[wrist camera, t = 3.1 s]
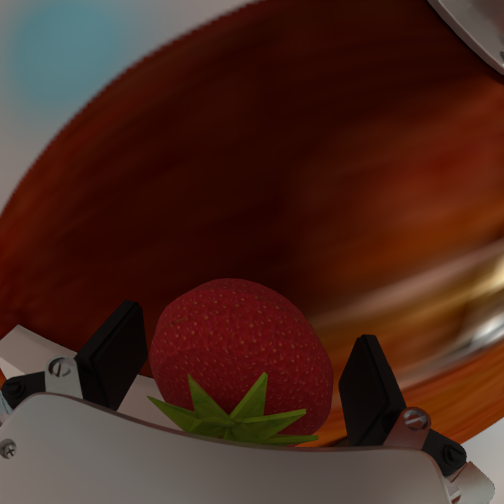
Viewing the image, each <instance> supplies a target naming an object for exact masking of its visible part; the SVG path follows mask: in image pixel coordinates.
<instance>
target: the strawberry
mask: <svg viewBox="0 0 504 504" xmlns="http://www.w3.org/2000/svg"><path fill="white" fill-rule="evenodd" d="M149 360H150V368H151V371H152V374H153V377H154V380H155V382H156V385H157V387H158V389H159V391H160V393H161V395H162V397H163V399H164V401H165V402H163V401H161V400H158V399H155V398H153V397H150V396H146V397H147V398H148V399H149V400H150V401H151V402H152V403H153V404H154V405H155V406H156V407H158V408H159V409H160V410H161V411H162V412H163V413H164V414H165V415H166V416H167V417H168V418H169V419H171V420H172V421H173V422H174V423H175V424H176V425H177V426H178V427H180V428H181V429H182V430H183V431H184V432H188V433H193V434H198V435H202V436H207V437H213V438H218V439H224V440H230V441H237V442H244V443H253V444H262V445H273V446H287V447H294V446H296V445H298V444H300V443H304V442H309V441H314V440H318V435H312V434H313V433H315V432H316V431H317V430H318V429H319V428H320V427H321V426H322V425H323V423H324V422H325V421H326V419H327V417H328V415H329V412H330V409H331V402H332V391H333V370H332V366H331V362H330V359H329V357H328V355H327V353H326V351H325V349H324V347H323V345H322V343H321V342H320V340H319V338H318V337H317V335H316V333H315V331H314V330H313V328H312V326H311V325H310V323H309V322H308V320H307V319H306V318H305V316H304V315H303V314H302V312H301V311H300V310H299V309H298V308H297V307H296V306H295V305H294V304H292V303H291V302H290V301H289V300H288V299H287V298H285V297H284V296H282V295H281V294H279V293H278V292H276V291H275V290H272V289H270V288H268V287H266V286H264V285H261V284H259V283H256V282H252V281H248V280H244V279H235V278H223V279H215V280H211V281H209V282H206V283H204V284H201V285H199V286H198V287H196V288H194V289H192V290H190V291H188V292H187V293H185V294H183V295H181V296H179V297H178V298H177V299H175V300H174V301H173V302H171V303H170V304H169V305H167V306H166V308H165V309H164V311H163V312H162V314H161V315H160V317H159V320H158V323H157V326H156V330H155V333H154V337H153V340H152V344H151V348H150V352H149Z"/></svg>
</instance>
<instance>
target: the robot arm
mask: <svg viewBox="0 0 504 504" xmlns="http://www.w3.org/2000/svg"><path fill="white" fill-rule="evenodd" d="M427 1H428V2H429V3H430V5H431V6H432V7H433V8H434V9H435V10H436V12H437V13H438V14H439V15H440V16H441V18H442V19H443V20H444V21H445V22H446V23H447V24H448V25H449V26H450V27H451V29H452V30H453V31H454V32H455V33H456V34H457V35H458V36H459V37H460V38H461V39H462V40H463V41H464V42H465V43H466V44H467V45H468V46H469V47H470V48H471V49H472V50H473V51H474V52H475V53H476V54H477V55H478V56H480V57H481V58H482V59H483V60H484V61H485V62H486V63H487V64H489V65H490V66H491V67H493V68H494V69H495V70H497V71H498V72H499V73H500V74H502V75H504V0H427ZM147 355H148V351H147V344H146V337H145V329H144V321H143V312H142V307H141V306H139V304H138V303H137V302H133V301H129V300H125V301H124V302H123V303H122V304H121V305H120V306H119V307H118V308H117V309H116V310H115V311H114V312H113V314H112V315H111V316H110V317H109V318H108V319H107V320H106V321H105V322H104V323H103V325H102V326H101V327H100V328H99V329H98V330H97V331H96V332H95V334H94V335H93V336H92V337H91V338H90V339H89V340H88V341H87V343H86V344H85V345H84V346H83V347H82V348H81V350H80V351H79V352H78V353H77V355H76V356H75V357H74V358H72V357H70V356H67V355H58V356H54V357H53V358H51V359H50V360H49V361H48V362H47V363H46V365H45V371H41V372H36V373H31V374H26V375H20V376H15V377H11V378H9V379H7V380H6V381H5V382H4V384H3V386H2V390H1V391H0V504H488V503H489V502H490V501H491V499H492V498H493V495H494V493H495V487H494V484H493V482H492V481H491V480H490V479H489V478H488V477H487V476H486V475H485V474H483V473H482V472H481V471H480V470H479V469H478V468H477V467H476V466H475V465H474V464H473V463H472V462H471V461H470V462H468V463H467V462H466V457H467V456H466V452H465V450H464V448H463V447H462V446H461V445H460V444H458V443H456V442H454V441H452V440H451V439H449V438H447V437H445V436H443V435H441V434H440V433H438V432H436V431H434V430H432V429H431V428H430V427H431V419H430V417H429V415H428V414H427V413H426V412H425V411H424V410H422V409H420V408H418V407H408V408H407V406H406V404H405V401H404V399H403V396H402V394H401V391H400V389H399V386H398V384H397V381H396V379H395V377H394V374H393V372H392V369H391V367H390V366H389V364H388V362H387V360H386V357H385V355H384V353H383V351H382V348H381V346H380V344H379V342H378V340H377V337H376V336H375V335H365V334H363V335H362V336H361V337H358V338H357V340H356V342H355V344H354V347H353V350H352V352H351V354H350V357H349V359H348V362H347V364H346V366H345V369H344V371H343V373H342V375H341V378H340V380H339V386H338V387H339V392H340V397H341V403H342V408H343V413H344V419H345V424H346V430H347V436H348V442H349V446H350V447H287V446H273V445H262V444H253V443H244V442H237V441H230V440H224V439H218V438H213V437H207V436H202V435H198V434H193V433H188V432H184V431H180V430H176V429H172V428H168V427H164V426H161V425H157V424H154V423H150V422H147V421H144V420H141V419H137V418H134V417H131V416H128V415H125V414H122V413H119V412H117V410H118V408H119V407H120V405H121V403H122V401H123V399H124V398H125V396H126V394H127V392H128V391H129V389H130V387H131V385H132V383H133V382H134V380H135V378H136V376H137V375H138V373H139V371H140V369H141V368H142V366H143V364H144V363H145V361H146V359H147Z"/></svg>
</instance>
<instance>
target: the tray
mask: <svg viewBox="0 0 504 504" xmlns="http://www.w3.org/2000/svg"><path fill="white" fill-rule="evenodd" d="M58 355H67V356H70V357H72V358H74V357H75V356H76V355H77V352H74V351H72V350H70V349H67V348H65V347H63V346H61V345H58V344H56V343H54V342H52V341H50V340H48V339H46V338H43V337H41V336H39V335H37V334H35V333H33V332H32V331H30V330H28V329H26V328H24V327H22V326H20V325H17V326H16V327H15V328H14V329H13V330H12V331H10V332H9V333H8V334H7V335H6V336H5V337H4V338H3V339H2V340H1V341H0V368H1V370H2V372H3V373H4V375H5V377H6V379H9V378H11V377H15V376H20V375H26V374H31V373H36V372H41V371H45V365H46V363H47V362H48V361H49V360H50V359H51V358H53V357H54V356H58ZM146 396H150V397H153V398H155V399H158V400H161V401H163V402H165V401H164V399H163V397H162V395H161V393H160V391H159V389H158V387H157V385H156V382H155V380H154V379H152V378H148V377H145V376H142V375H137V376H136V378H135V380H134V382H133V383H132V385H131V387H130V389H129V391H128V392H127V394H126V396H125V398H124V399H123V401H122V403H121V405H120V407H119V408H118V410H117V412H119V413H122V414H125V415H128V416H131V417H134V418H137V419H141V420H144V421H147V422H150V423H154V424H157V425H161V426H164V427H168V428H172V429H176V430H180V431H183V430H182V429H181V428H180V427H178V426H177V425H176V424H175V423H174V422H173V421H172V420H171V419H169V418H168V417H167V416H166V415H165V414H164V413H163V412H162V411H161V410H160V409H159V408H158V407H156V406H155V405H154V404H153V403H152V402H151V401H150V400H149V399H148V398H147V397H146Z"/></svg>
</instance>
